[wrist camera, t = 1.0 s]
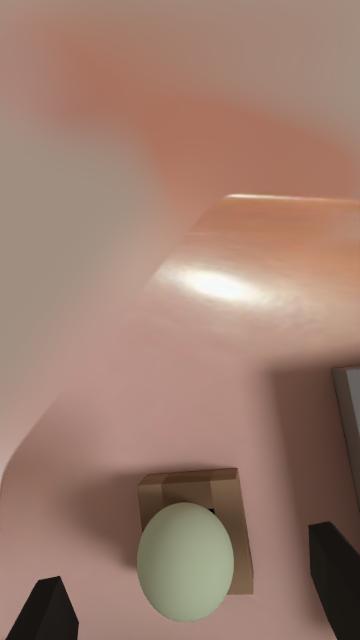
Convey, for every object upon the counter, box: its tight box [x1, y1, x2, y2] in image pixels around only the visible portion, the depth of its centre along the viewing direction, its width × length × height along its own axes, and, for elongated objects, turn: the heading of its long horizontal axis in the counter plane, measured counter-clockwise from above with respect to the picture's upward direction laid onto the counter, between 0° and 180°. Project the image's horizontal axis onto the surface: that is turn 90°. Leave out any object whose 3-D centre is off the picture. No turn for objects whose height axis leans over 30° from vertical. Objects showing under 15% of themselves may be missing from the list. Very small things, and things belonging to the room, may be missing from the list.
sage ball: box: [137, 502, 234, 622], centre depth 17 cm, size 5×5×5 cm
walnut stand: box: [137, 468, 253, 594], centre depth 20 cm, size 6×6×2 cm
